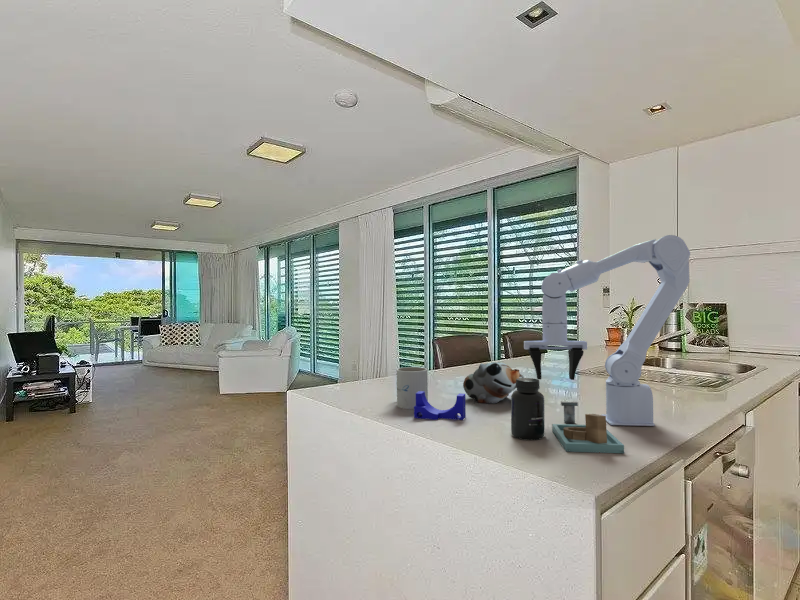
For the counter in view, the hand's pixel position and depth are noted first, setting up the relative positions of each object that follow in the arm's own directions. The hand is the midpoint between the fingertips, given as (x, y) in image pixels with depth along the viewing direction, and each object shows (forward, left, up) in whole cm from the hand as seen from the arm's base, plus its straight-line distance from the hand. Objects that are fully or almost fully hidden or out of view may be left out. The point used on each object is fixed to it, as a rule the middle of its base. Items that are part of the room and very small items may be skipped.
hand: (555, 379), depth 109 cm
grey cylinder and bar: (-2, +4, -9) cm, 11 cm away
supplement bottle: (+9, +16, -10) cm, 20 cm away
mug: (+37, -12, -10) cm, 40 cm away
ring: (-2, +20, -8) cm, 22 cm away
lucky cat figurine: (+14, -19, -10) cm, 25 cm away
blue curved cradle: (+28, +2, -10) cm, 30 cm away
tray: (-2, +18, -9) cm, 21 cm away
